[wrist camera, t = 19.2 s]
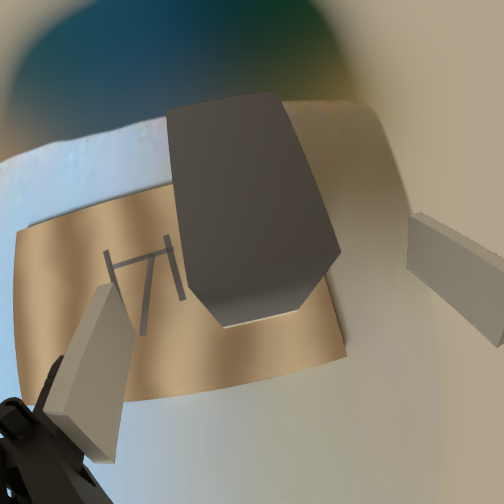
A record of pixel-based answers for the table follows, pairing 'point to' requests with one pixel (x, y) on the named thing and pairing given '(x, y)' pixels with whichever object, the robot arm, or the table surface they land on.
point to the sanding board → (149, 305)
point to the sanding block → (247, 208)
